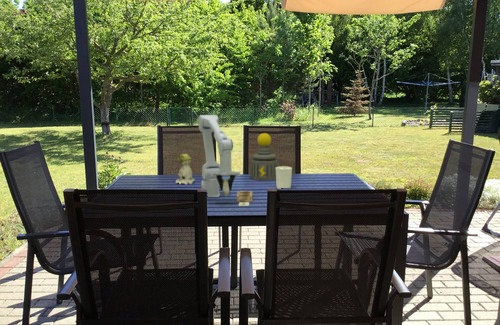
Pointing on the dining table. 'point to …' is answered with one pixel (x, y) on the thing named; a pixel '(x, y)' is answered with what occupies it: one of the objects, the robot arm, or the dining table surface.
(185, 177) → the cream figurine
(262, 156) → the decorative lamp
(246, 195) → the tan frame
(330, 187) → the dining table surface
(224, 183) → the pin
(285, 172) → the candle holder
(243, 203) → the key card
